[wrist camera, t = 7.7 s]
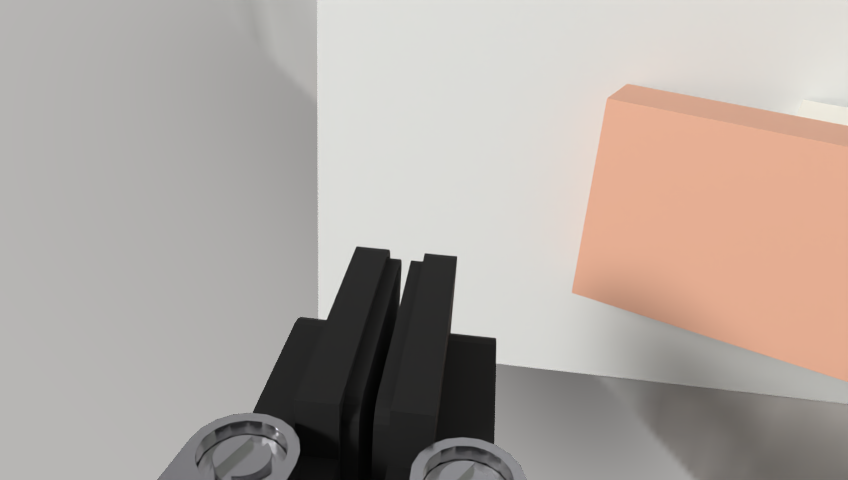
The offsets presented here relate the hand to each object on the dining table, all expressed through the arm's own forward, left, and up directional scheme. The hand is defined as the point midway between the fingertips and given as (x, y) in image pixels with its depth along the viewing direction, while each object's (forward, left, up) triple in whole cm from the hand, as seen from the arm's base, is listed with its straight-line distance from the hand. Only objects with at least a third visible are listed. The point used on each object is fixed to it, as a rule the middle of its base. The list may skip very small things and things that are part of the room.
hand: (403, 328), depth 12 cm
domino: (-4, 0, -7) cm, 8 cm away
